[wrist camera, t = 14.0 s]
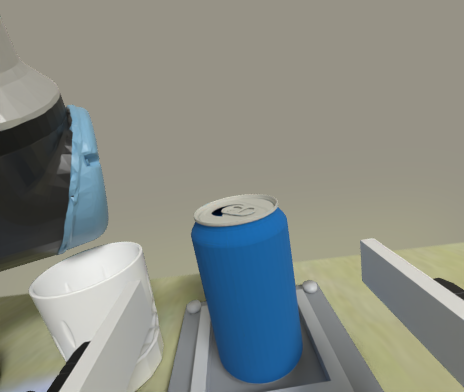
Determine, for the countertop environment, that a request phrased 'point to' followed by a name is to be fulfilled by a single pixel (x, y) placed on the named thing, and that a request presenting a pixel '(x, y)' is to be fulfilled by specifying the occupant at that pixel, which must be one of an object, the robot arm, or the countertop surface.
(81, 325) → the white cup
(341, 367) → the socket plate
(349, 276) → the countertop surface
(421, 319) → the robot arm
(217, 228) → the beverage can
